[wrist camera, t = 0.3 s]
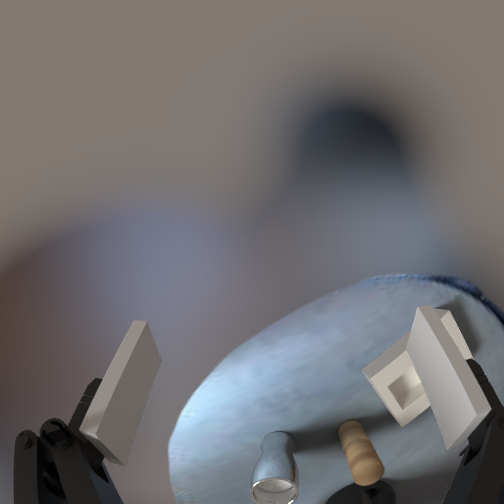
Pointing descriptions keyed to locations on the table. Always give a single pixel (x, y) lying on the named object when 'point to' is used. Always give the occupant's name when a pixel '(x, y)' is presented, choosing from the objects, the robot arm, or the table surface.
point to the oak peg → (360, 453)
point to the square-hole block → (406, 374)
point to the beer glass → (275, 471)
